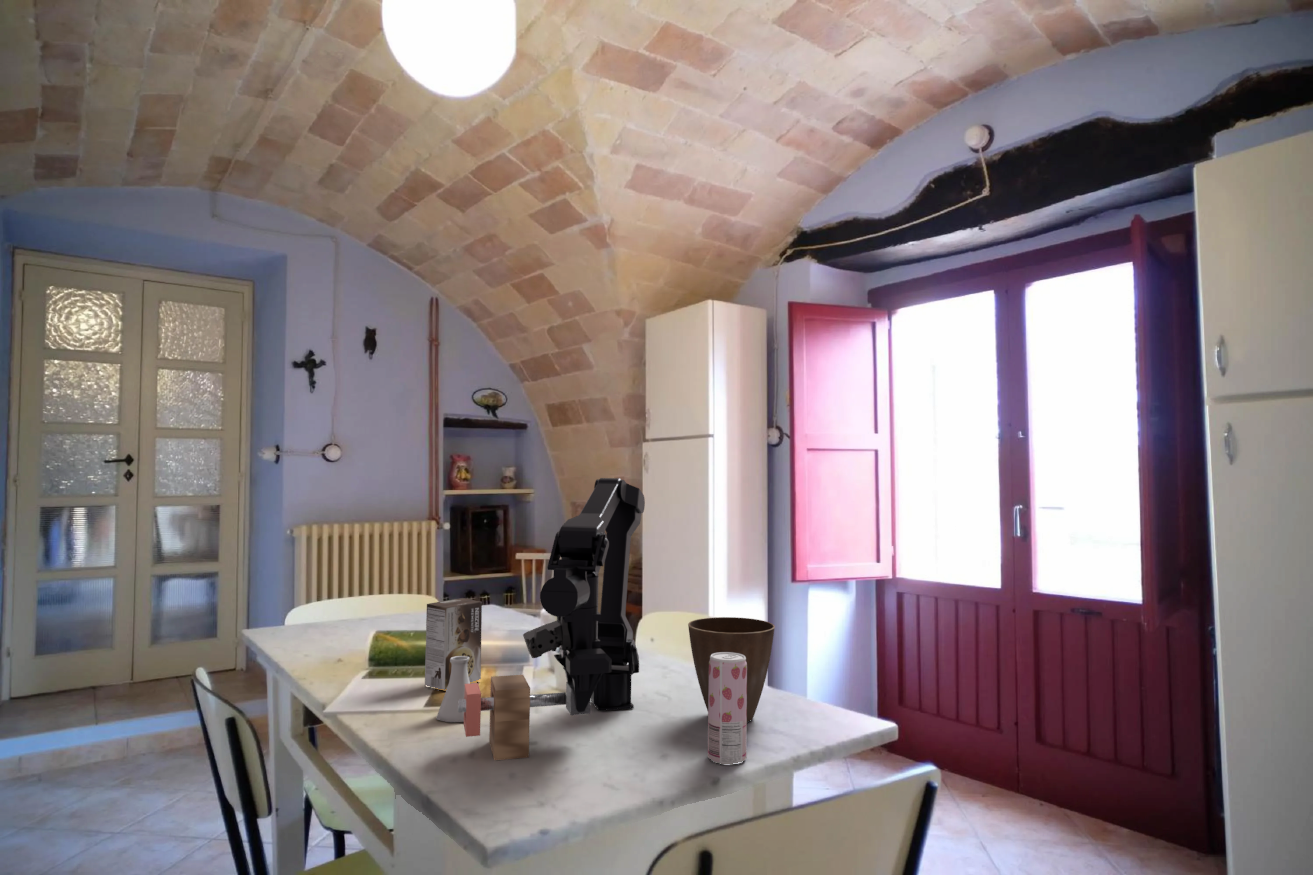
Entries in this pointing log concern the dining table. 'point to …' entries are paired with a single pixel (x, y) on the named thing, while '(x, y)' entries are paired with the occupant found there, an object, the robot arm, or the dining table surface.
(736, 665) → the beverage can
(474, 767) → the dining table surface
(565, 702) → the shaft
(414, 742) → the dining table surface
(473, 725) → the block
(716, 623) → the plant pot
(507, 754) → the block
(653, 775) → the dining table surface
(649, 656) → the dining table surface
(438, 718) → the flask
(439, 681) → the coffee box
